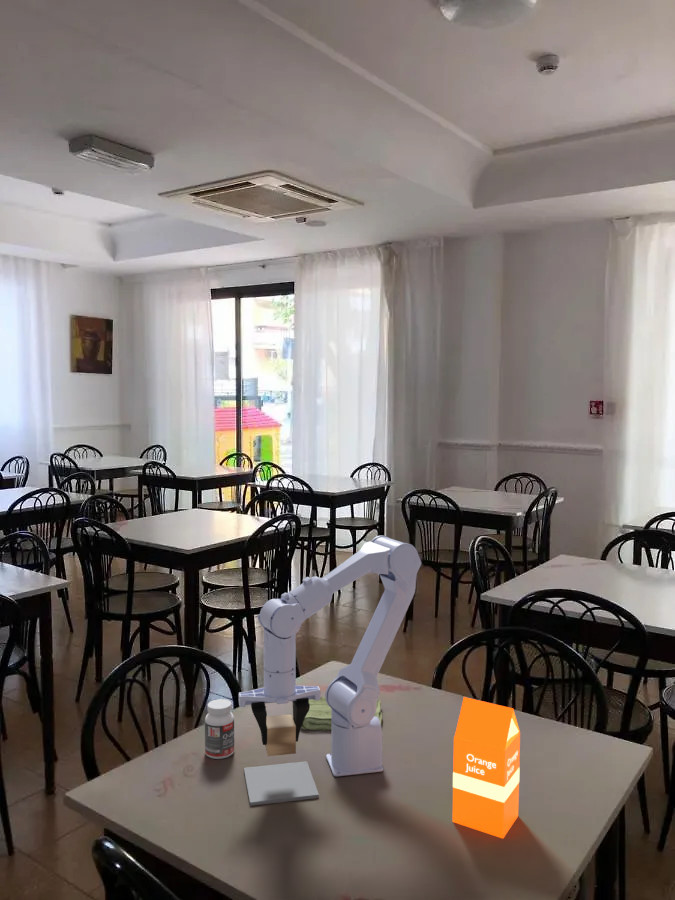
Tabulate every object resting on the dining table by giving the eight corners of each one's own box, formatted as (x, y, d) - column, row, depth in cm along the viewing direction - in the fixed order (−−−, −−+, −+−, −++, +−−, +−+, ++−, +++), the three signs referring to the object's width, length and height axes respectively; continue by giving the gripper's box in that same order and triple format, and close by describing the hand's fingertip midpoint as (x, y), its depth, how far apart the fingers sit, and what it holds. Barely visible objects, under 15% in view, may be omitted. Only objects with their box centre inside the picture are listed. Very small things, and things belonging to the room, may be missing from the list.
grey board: (307, 764, 141) (306, 761, 141) (318, 797, 130) (318, 794, 130) (243, 770, 139) (243, 767, 139) (250, 805, 127) (250, 802, 127)
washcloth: (383, 734, 155) (383, 719, 154) (298, 733, 155) (298, 718, 155) (381, 707, 168) (381, 693, 167) (303, 706, 168) (303, 693, 168)
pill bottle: (228, 761, 142) (228, 711, 141) (200, 758, 143) (200, 708, 143) (238, 747, 148) (238, 699, 147) (211, 744, 149) (210, 696, 148)
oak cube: (291, 740, 137) (291, 714, 136) (295, 753, 132) (295, 726, 131) (264, 743, 136) (264, 716, 135) (267, 756, 131) (267, 728, 130)
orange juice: (503, 839, 118) (505, 717, 116) (451, 822, 122) (453, 704, 121) (519, 815, 124) (521, 700, 123) (469, 800, 129) (471, 688, 127)
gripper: (240, 678, 127) (241, 755, 128) (323, 672, 130) (323, 747, 131) (237, 664, 134) (238, 736, 135) (316, 658, 137) (316, 729, 138)
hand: (279, 740), depth 133 cm, fingers closed on oak cube, 5 cm apart
